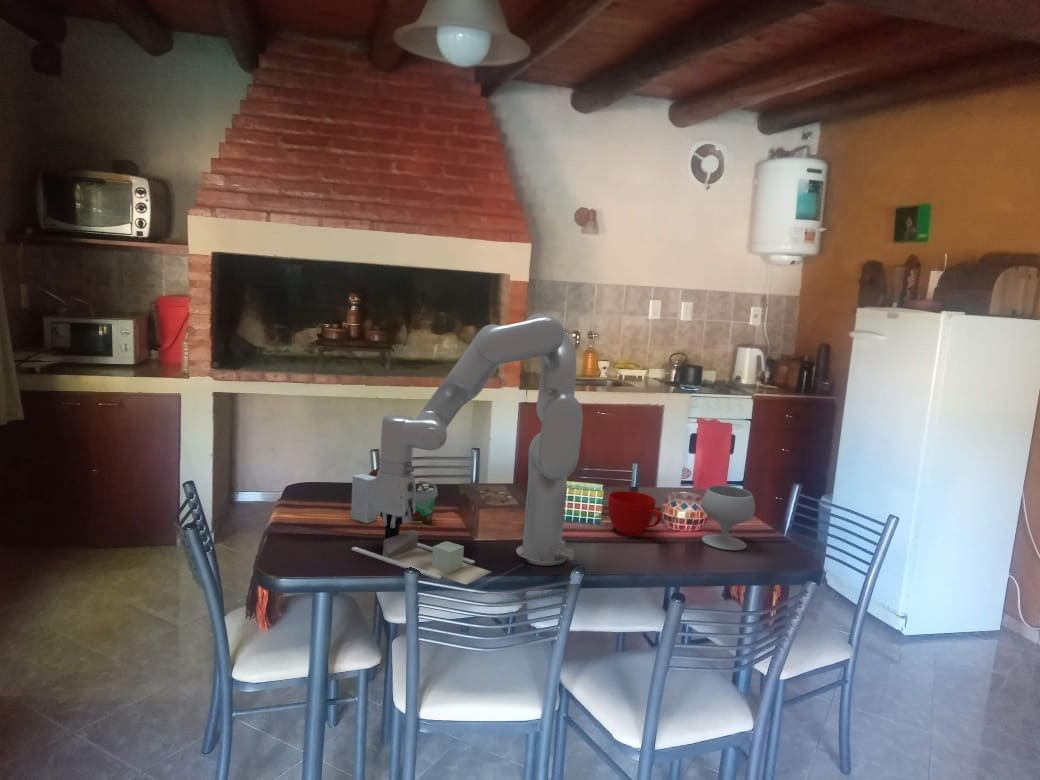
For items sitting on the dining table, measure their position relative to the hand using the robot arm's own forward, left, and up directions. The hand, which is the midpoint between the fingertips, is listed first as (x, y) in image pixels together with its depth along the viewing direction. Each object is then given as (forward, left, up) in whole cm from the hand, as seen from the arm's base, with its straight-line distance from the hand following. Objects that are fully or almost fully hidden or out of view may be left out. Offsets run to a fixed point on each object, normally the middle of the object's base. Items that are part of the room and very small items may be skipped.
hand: (391, 541), depth 183 cm
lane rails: (-7, 0, -3) cm, 7 cm away
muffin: (+29, -29, -3) cm, 41 cm away
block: (-17, 0, -2) cm, 17 cm away
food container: (+9, -24, -3) cm, 26 cm away
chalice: (-60, -69, -3) cm, 91 cm away
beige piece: (-14, 0, -3) cm, 14 cm away
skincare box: (+22, -14, -3) cm, 26 cm away
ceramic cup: (-38, -58, -3) cm, 69 cm away
